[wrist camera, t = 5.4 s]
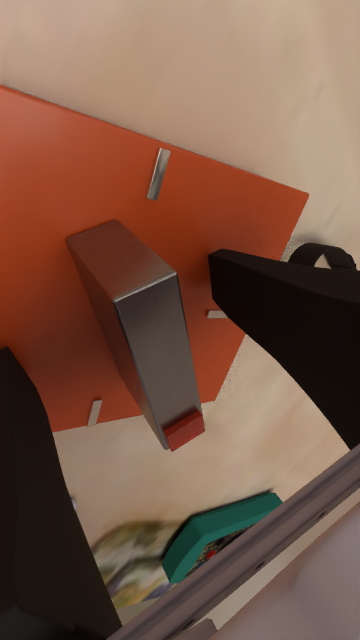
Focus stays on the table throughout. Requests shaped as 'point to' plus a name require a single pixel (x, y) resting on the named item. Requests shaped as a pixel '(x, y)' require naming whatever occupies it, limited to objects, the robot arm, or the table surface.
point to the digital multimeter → (214, 534)
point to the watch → (312, 252)
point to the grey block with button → (142, 327)
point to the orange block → (139, 218)
